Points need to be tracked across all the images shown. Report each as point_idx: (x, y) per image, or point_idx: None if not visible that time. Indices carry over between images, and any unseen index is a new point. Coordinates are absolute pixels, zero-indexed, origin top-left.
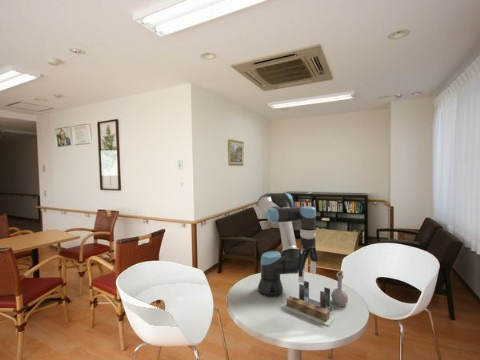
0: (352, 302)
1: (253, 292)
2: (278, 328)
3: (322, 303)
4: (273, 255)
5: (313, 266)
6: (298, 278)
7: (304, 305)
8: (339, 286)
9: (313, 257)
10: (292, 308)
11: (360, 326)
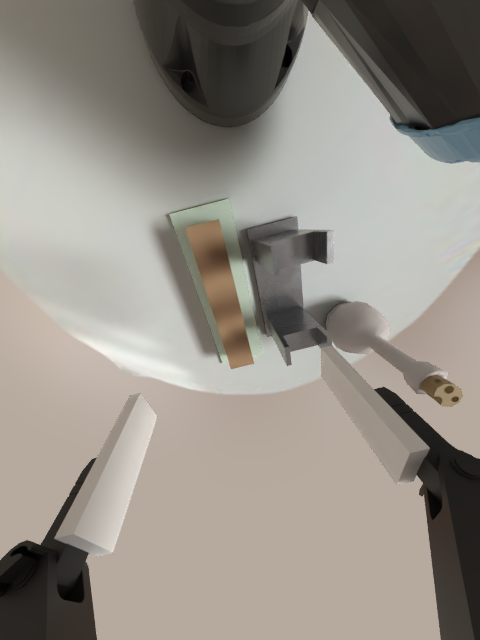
0: None
1: None
2: (88, 302)
3: (272, 331)
4: None
5: (356, 417)
6: (117, 419)
7: (212, 308)
8: (378, 352)
9: (439, 610)
10: None
11: (277, 390)
